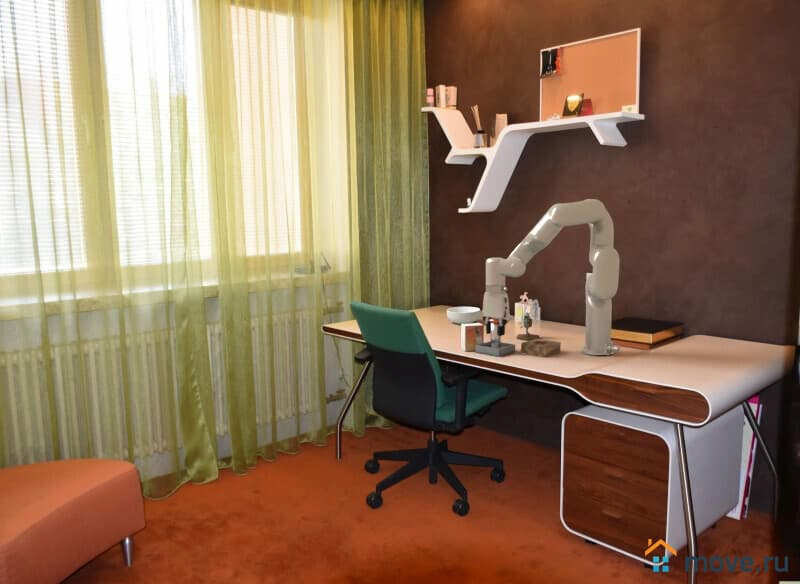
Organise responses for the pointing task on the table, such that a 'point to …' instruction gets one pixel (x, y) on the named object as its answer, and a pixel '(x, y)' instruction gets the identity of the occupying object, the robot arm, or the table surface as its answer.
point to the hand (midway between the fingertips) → (495, 333)
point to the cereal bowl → (463, 314)
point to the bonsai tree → (527, 324)
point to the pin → (495, 334)
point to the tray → (486, 349)
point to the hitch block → (540, 347)
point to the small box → (471, 336)
